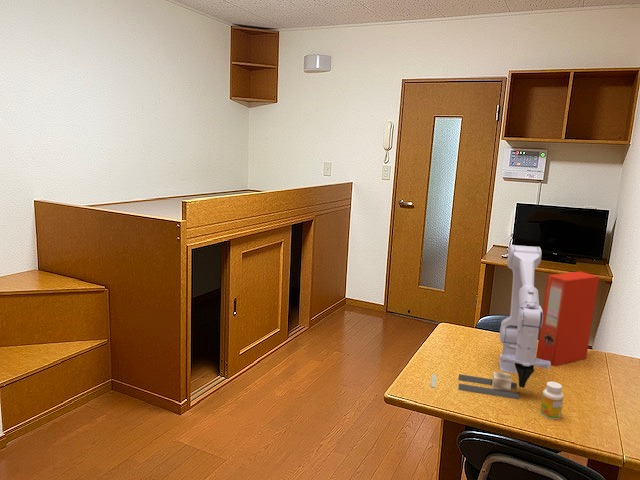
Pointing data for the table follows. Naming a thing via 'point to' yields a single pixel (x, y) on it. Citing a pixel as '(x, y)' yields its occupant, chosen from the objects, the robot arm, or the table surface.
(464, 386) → the parallel grey rails
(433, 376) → the pad
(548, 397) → the supplement bottle
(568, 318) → the file binder
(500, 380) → the block
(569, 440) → the table surface
